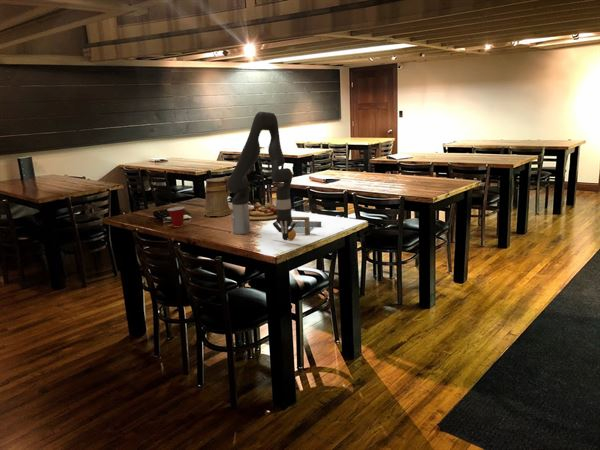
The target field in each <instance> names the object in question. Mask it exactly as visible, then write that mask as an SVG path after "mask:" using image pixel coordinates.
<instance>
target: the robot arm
mask: <svg viewBox="0 0 600 450" xmlns="http://www.w3.org/2000/svg"><path fill="white" fill-rule="evenodd" d="M262 131H268V132H269V135H270V142H269V145H268V147H267V148H268V157H269V160H270V164H271V176H270V177H271V180H272V182H273V183H275V184H282V183H283V184H282V185H281V186H279V187H277V188H276V189H275V197H276V201H275V203H276V206H275V207H276V208H277V219H276V221H275V220H274V222H273V223H272V226H274V228H275V229H276V230H277V232H278V233H281V234H282V239H283V241H288V240H289V239H288V233H289V232H291V231H292V229H293V228H294V227H295V225H296V224H297V223H296V222H294V221H295V220H293V219H292V217H293V216H292V202H291V191H290V190H291V185H292V182H293V172H292V170H291V169H290V168H288V167H287V168H286V167H285V168H279V167H282V166H283V165H284V164H285V163H286V162H285V161H286V160H285V158H284V153H283V150H282V146H281V141H280V140H281V138H280V130H279V122H278V117H277V116H276V114H275V113H273V112H267V111H258V112H256V114H255V115H254V117H253V122H252V124H251V127H250V132H249V134H248V137H247V139H246V142H245V144H244V145H243V148H242V150H241V154H240V156H239V158H238V161H237V163H236V165H235V167H234V169H233V170H232V173H230V174H231V175H230V176H229V177H228V178H229V180H228V189H229V191H230V192H229V193H236V194H235V196H234V197H233V198H232V199H231V205H232V217H231V223H232V224H231V225H232V234H235V235H247V234H250V233H251V221H250V219H249V208H250V207H249V199H250V183H249V180H248V177H247V176H246V174H247V173H248V171H249V170H250V169H251V168H253V167H254V165H255V164H256V162H257V161H258V158H259V156H260V154H261V146H260V139H259V138H260V134H261V132H262ZM291 223H292V224H291ZM290 224H291V225H292V226H291V227H289V225H290ZM288 229H289V230H288Z"/></svg>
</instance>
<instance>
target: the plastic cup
mask: <svg viewBox="0 0 600 450" xmlns="http://www.w3.org/2000/svg"><path fill="white" fill-rule="evenodd" d="M167 212H168V214H169V216H170V220H171V223H172V225H173V227H174V226H181V225H183V226H184V217H185V216H184V213H185V206H175V207H171V208H168V209H167Z"/></svg>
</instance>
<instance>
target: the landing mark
mask: <svg viewBox="0 0 600 450" xmlns="http://www.w3.org/2000/svg"><path fill="white" fill-rule="evenodd" d="M314 228H315V227H310V233H311V231H313V230H314ZM293 229H294V230H295V231H296V234H305V227H294V228H293Z"/></svg>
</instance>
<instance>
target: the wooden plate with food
mask: <svg viewBox="0 0 600 450" xmlns="http://www.w3.org/2000/svg"><path fill="white" fill-rule="evenodd" d="M249 219H250V222H268V221H269V222H270V221H275V220H276V219H277V208H276V206H275V204H272V203H270V202H267V203H266V204H264V206H262V204H261V203H260V202H258V201H257V202H255V203H254V205H253V208H250V207H249Z"/></svg>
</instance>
